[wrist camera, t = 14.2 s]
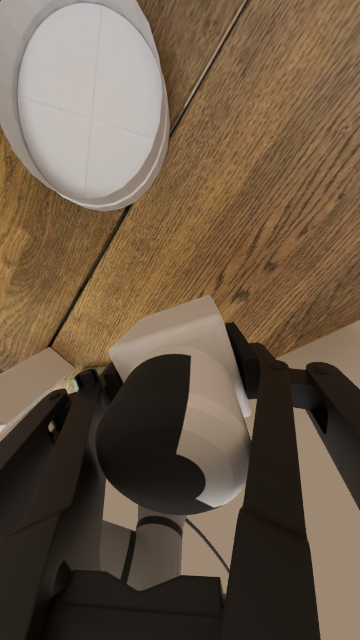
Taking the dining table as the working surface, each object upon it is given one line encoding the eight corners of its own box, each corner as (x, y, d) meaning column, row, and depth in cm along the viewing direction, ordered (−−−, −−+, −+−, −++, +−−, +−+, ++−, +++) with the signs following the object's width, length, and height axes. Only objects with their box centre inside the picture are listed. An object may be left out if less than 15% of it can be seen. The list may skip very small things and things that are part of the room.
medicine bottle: (166, 377, 19) (121, 547, 7) (140, 317, 17) (27, 420, 6) (231, 359, 18) (298, 534, 6) (210, 293, 16) (249, 362, 4)
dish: (25, -7, 22) (-21, -81, 17) (189, 44, 22) (188, -16, 18) (25, 190, 29) (-8, 175, 24) (150, 228, 29) (141, 221, 24)
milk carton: (34, 364, 40) (-99, 446, 22) (50, 346, 38) (-82, 418, 20) (59, 384, 41) (-48, 477, 23) (75, 367, 39) (-28, 453, 21)
